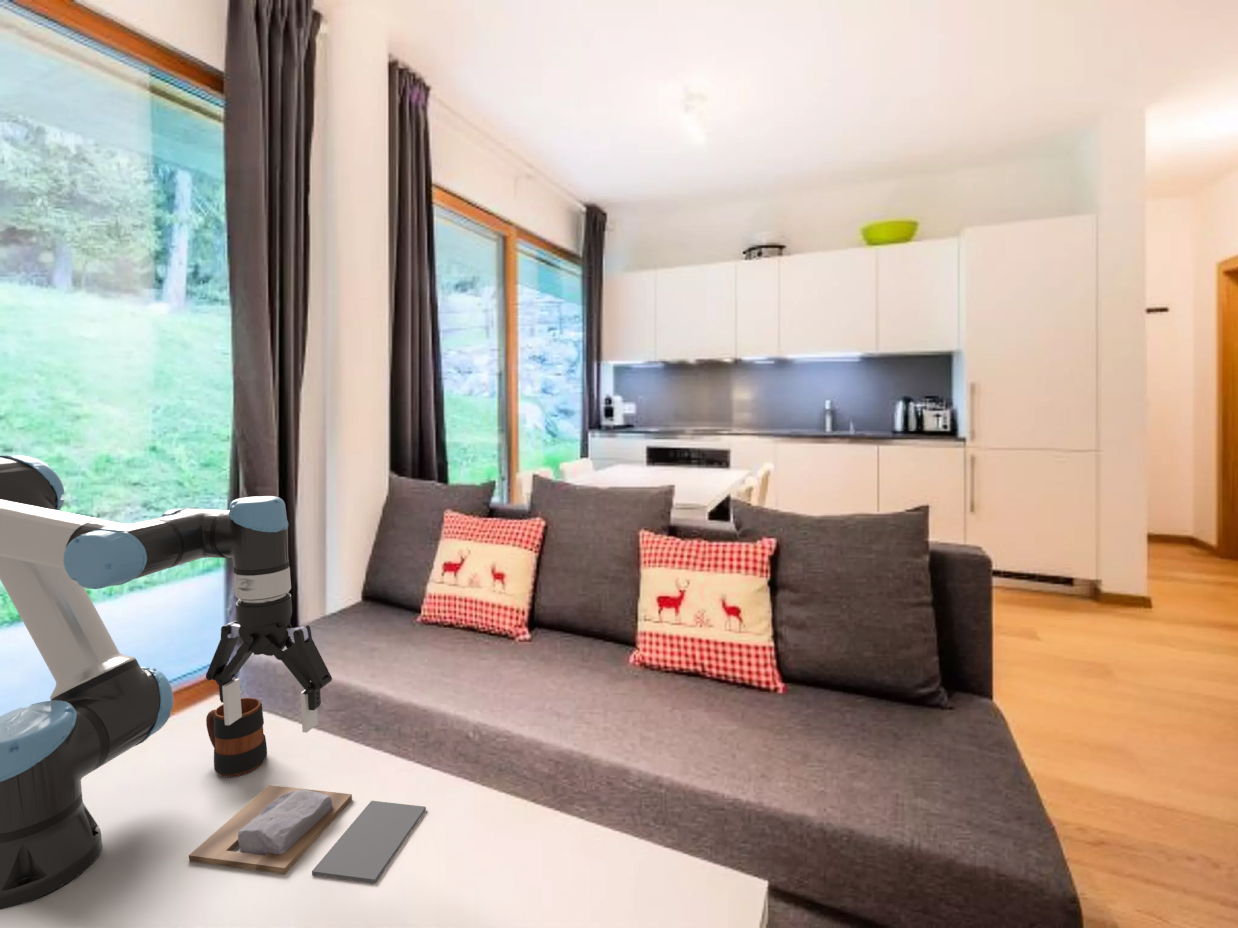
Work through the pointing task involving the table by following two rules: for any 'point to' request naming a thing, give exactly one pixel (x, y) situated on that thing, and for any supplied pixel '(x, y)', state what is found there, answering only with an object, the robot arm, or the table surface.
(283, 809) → the stone block
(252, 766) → the mug
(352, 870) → the mat
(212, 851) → the pocket board
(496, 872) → the table surface
